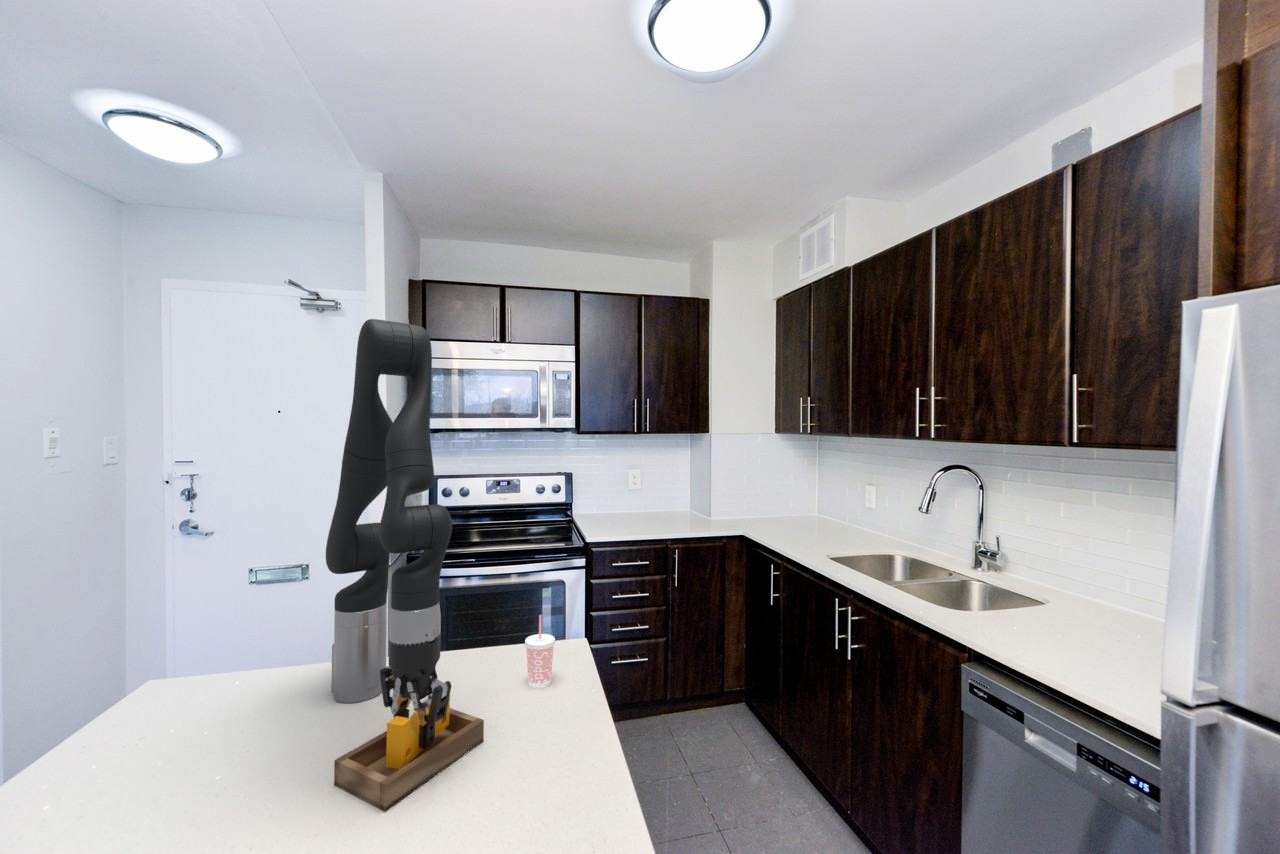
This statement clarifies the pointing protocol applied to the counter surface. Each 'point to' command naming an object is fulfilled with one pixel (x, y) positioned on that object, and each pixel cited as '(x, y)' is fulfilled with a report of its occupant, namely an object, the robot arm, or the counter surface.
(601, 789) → the counter surface
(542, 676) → the beverage cup
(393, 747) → the pipe clamp
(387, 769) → the wooden tray
